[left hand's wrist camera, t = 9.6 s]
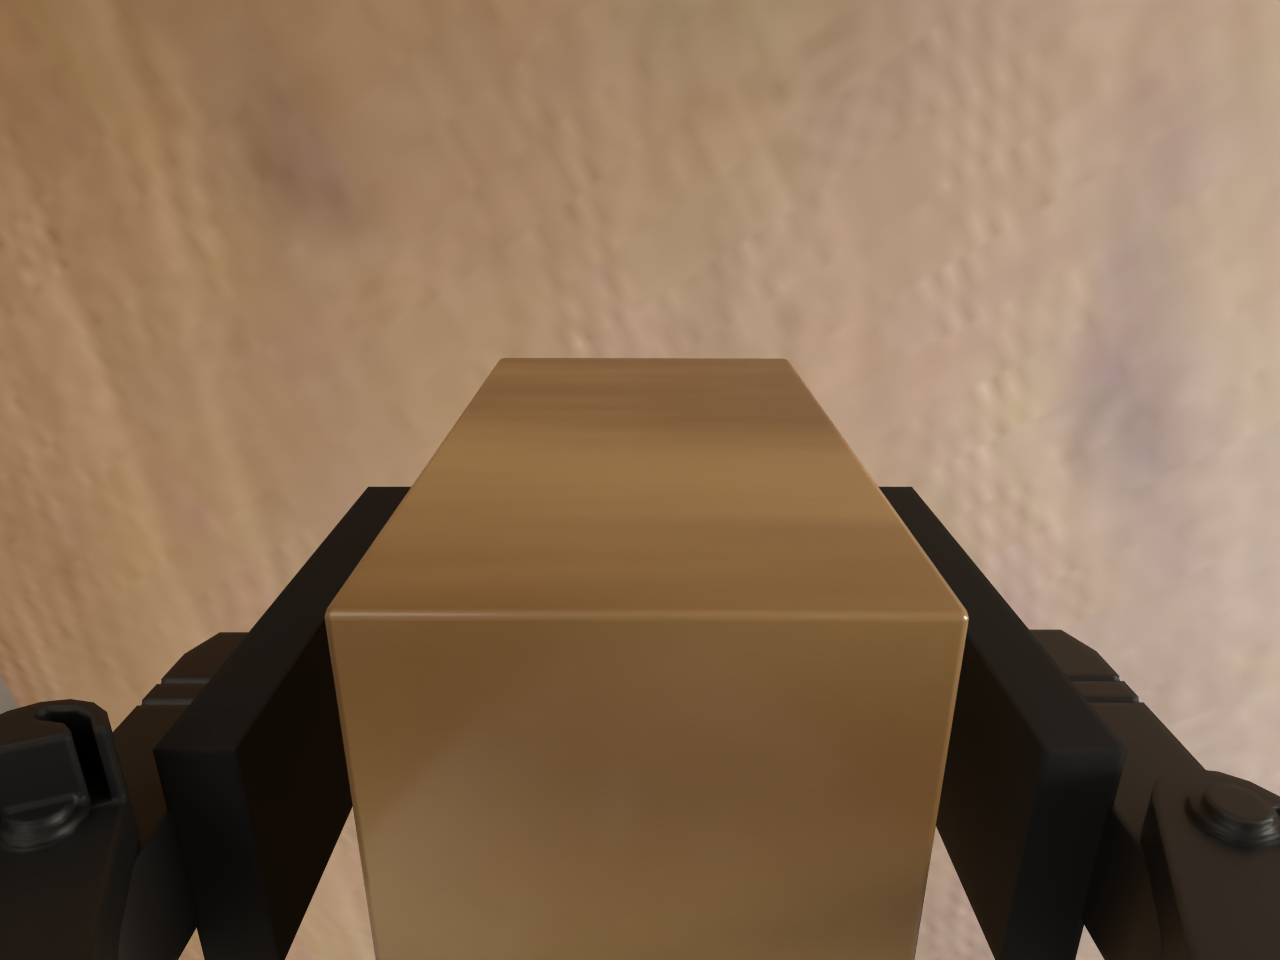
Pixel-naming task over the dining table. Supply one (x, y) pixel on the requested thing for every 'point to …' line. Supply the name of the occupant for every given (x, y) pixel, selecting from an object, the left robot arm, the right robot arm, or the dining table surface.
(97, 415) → the dining table surface
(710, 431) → the bar
